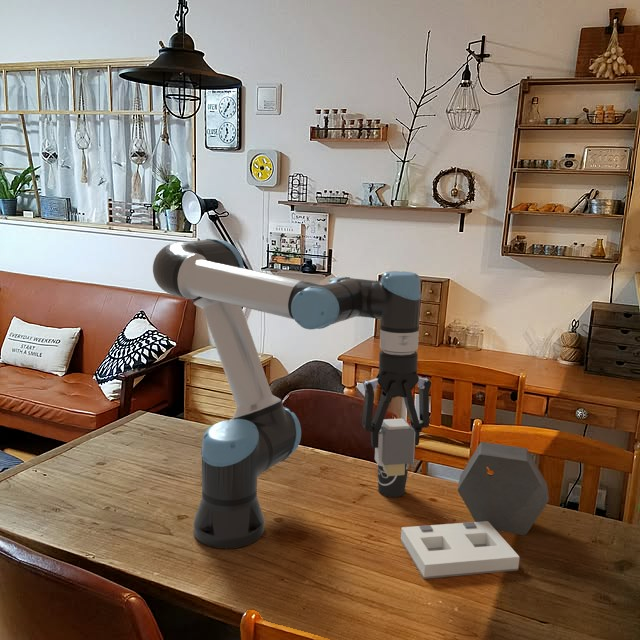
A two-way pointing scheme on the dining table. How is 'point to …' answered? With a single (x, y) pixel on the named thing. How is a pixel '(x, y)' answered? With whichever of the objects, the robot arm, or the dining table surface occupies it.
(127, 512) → the dining table surface
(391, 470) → the plug
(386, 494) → the coffee cup
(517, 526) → the grey hexagonal prism
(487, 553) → the socket plate
